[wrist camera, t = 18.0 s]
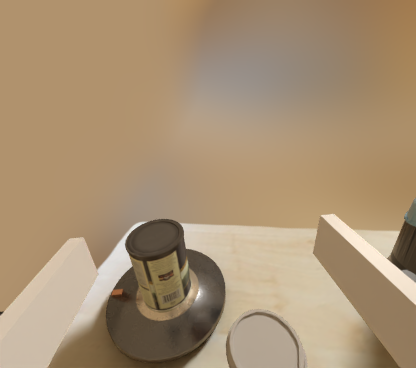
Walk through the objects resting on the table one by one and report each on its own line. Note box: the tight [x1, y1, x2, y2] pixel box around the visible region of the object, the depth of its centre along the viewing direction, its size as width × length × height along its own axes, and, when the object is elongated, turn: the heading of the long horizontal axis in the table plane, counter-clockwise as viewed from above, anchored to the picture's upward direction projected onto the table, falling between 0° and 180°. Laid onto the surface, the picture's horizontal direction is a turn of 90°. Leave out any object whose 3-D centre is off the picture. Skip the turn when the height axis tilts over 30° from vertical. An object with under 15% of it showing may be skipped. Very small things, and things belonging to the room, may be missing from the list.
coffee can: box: [125, 219, 192, 313], centre depth 39 cm, size 10×10×14 cm
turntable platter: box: [106, 249, 225, 363], centre depth 42 cm, size 24×24×2 cm
